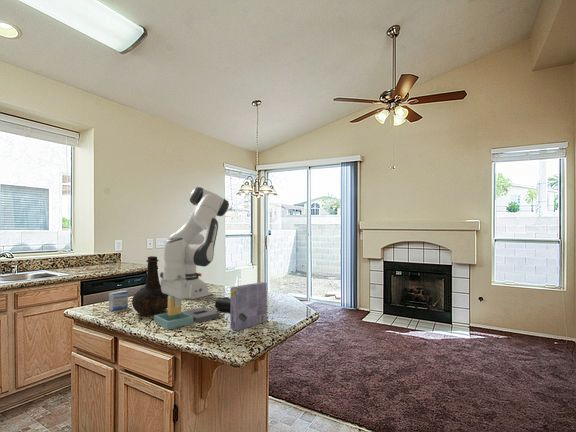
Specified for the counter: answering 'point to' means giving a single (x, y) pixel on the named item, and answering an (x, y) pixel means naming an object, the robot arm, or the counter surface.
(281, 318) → the counter surface
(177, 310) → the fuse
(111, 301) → the medicine box
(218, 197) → the robot arm
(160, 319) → the parts tray
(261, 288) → the cake pan box
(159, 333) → the counter surface
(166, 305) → the dark brown vase
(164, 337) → the counter surface
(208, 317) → the socket block
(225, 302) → the end cap
